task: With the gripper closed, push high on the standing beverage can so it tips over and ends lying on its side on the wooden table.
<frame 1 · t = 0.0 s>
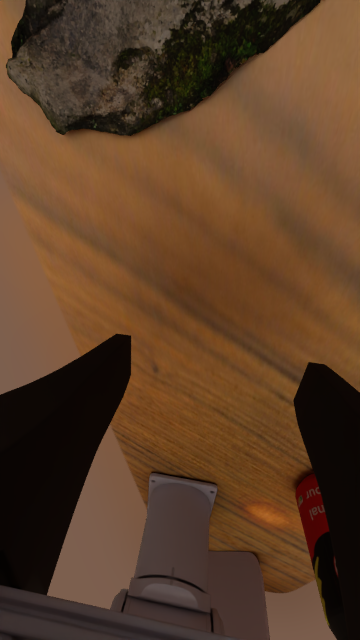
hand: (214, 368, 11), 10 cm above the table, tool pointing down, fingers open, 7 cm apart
electronic device: (225, 557, 39), on the table
beverage can: (323, 483, 29), on the table
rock: (156, 145, 15), point 1 cm above the table
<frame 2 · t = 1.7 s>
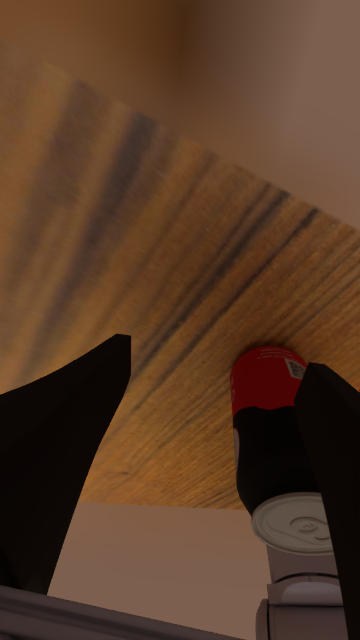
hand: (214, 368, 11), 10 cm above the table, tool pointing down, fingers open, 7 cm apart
beverage can: (266, 369, 23), on the table
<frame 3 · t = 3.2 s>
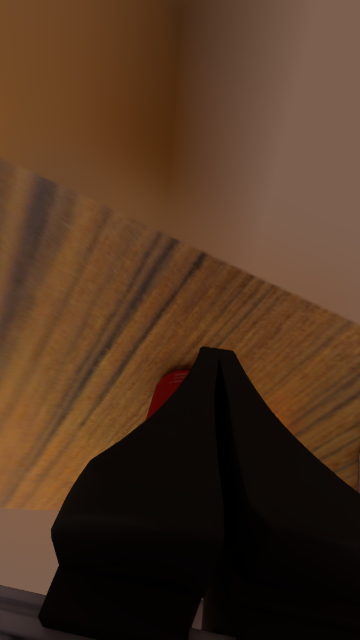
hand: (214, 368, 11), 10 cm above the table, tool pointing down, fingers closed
beverage can: (189, 389, 25), on the table
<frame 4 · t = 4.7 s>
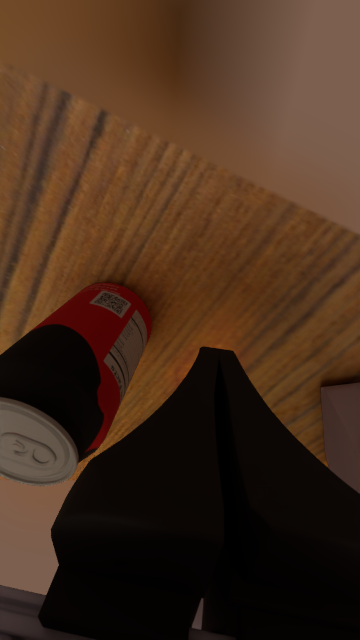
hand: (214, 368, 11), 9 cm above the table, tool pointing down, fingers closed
electronic device: (350, 418, 23), on the table
beverage can: (117, 314, 21), on the table
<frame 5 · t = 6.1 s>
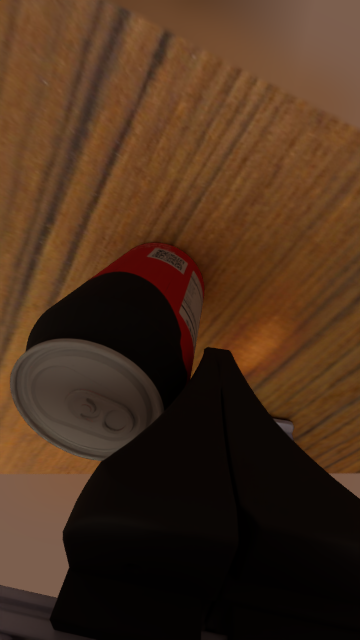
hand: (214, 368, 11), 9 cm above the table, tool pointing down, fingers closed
beverage can: (162, 283, 19), on the table, touching gripper
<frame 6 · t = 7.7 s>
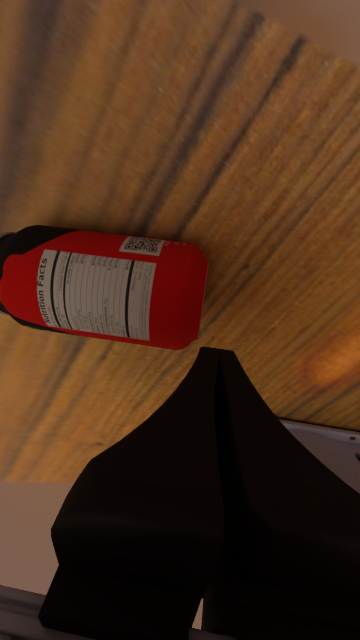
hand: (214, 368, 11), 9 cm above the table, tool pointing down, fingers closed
beverage can: (206, 300, 16), point 3 cm above the table
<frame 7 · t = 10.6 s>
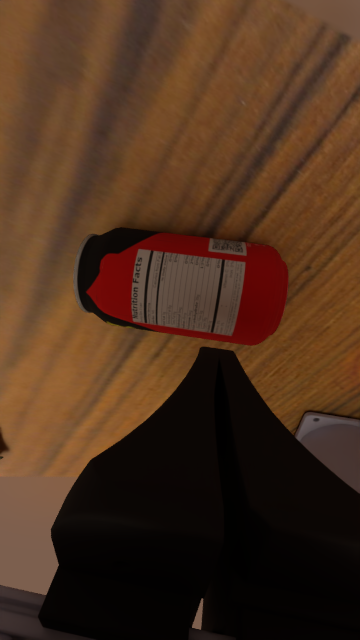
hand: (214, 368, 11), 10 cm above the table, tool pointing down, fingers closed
beverage can: (278, 299, 17), point 3 cm above the table
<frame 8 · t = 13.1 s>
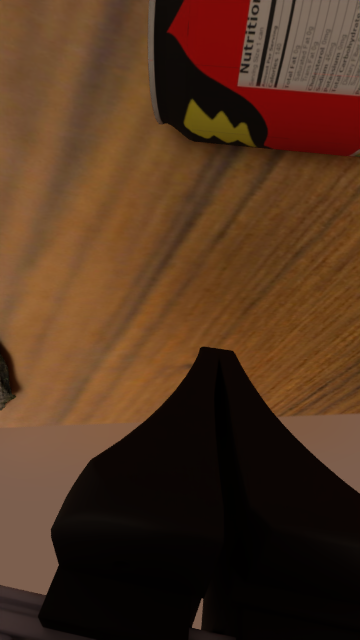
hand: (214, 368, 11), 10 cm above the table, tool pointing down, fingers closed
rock: (2, 351, 24), point 1 cm above the table
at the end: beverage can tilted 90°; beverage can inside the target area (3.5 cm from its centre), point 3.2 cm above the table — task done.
